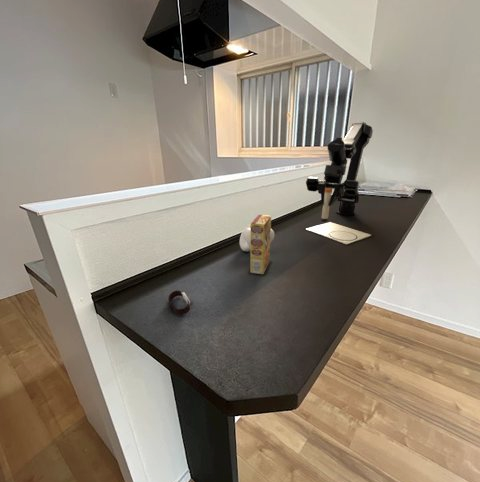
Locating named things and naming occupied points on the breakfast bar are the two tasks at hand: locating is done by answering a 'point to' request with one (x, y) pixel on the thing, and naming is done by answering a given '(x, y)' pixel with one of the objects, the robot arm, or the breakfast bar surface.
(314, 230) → the sketch pad
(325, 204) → the marker
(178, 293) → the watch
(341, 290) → the breakfast bar surface
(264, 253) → the candy box
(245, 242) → the white rounded lump
